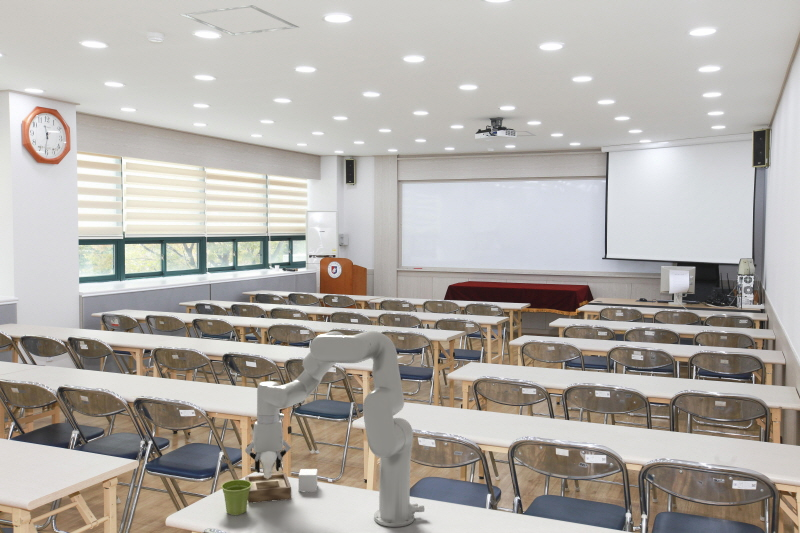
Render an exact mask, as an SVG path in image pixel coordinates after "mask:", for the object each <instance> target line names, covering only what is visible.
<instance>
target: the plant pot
mask: <svg viewBox="0 0 800 533" xmlns="http://www.w3.org/2000/svg"><path fill="white" fill-rule="evenodd" d="M251 486H252V483H251V482H249V481H247V480H245V479H232V480H228V481H226V482H223V483H222V484H221V486H220V488H221V490H222V492H223V495H224V501H225V502H224V503H225V508H226V509H225V510H226V513H227V515H229V514H230V515H231V516H240V515H242V514H243V513H246V511H247V508H248V495H249V491H250V487H251Z"/></svg>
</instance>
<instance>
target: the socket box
mask: <svg viewBox="0 0 800 533" xmlns="http://www.w3.org/2000/svg"><path fill="white" fill-rule="evenodd" d="M244 480H247V481H249V482H251V483H252V486H251V487H250V491H249V495H248V501H247V504H254V503H253V502H256V503H263V502H262V501H267V502H273V501H272V500H277V501H284V500H285V499H287V500H292V486H291V483H290V481H289V478H288V475H287V473H286V472H283V473H282V472H281V473H272V475H271V478H269V479H266V478H264V474H261V475H260V474H259V475H249V476H245V479H244Z"/></svg>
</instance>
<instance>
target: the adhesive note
mask: <svg viewBox="0 0 800 533" xmlns="http://www.w3.org/2000/svg"><path fill="white" fill-rule="evenodd" d="M317 489H318V469H317V468H300V470H299V473H298V492H299V491H306V492H305V493H316V492H317Z"/></svg>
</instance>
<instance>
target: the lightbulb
mask: <svg viewBox="0 0 800 533" xmlns="http://www.w3.org/2000/svg"><path fill="white" fill-rule="evenodd" d="M276 459H277V454H276V452H271V451H267V452H264V453H261V454H260V457H259V460H260V465H261V466H262V471H263V475H264V478H266V479H269V478H271V475H272V474H273V469H274V465H275V464H276Z"/></svg>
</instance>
